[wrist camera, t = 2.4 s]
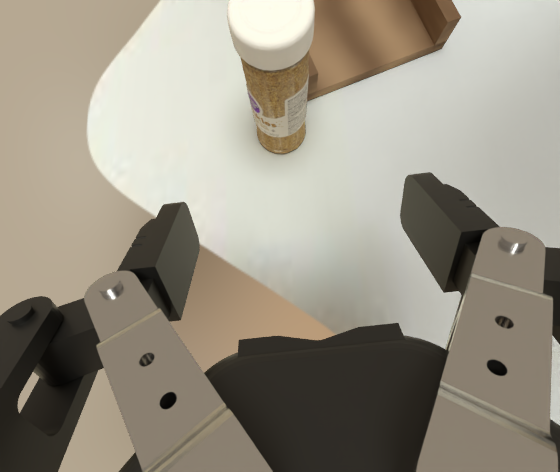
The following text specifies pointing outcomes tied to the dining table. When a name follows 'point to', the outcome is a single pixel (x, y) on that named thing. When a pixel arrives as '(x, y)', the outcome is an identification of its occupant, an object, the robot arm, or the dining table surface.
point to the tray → (373, 38)
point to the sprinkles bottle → (275, 65)
